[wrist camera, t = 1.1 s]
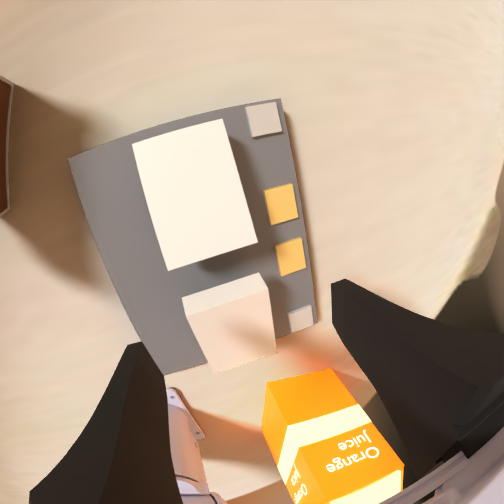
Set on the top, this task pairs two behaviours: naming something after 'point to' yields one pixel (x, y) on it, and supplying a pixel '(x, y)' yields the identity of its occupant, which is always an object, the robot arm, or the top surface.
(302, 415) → the orange juice
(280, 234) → the switch board
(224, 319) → the rocker
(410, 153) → the top surface
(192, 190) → the plate
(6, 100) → the food container
